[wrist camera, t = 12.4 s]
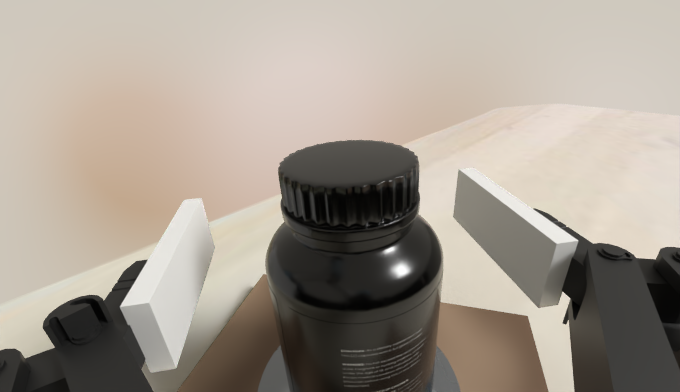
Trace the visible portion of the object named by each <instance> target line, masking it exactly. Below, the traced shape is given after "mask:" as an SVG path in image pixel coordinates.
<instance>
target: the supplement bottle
mask: <svg viewBox="0 0 680 392" xmlns="http://www.w3.org/2000/svg"><path fill="white" fill-rule="evenodd" d="M278 174H279V181H280V188H281V194H282V199H281V210H282V215H283V219H284V221H285V222H284V223H283V224H282V225H281V226H280V227H279V228H278V230H277V231H276V233H275V234H274V236H273V238H272V240H271V242H270V244H269V247H268V250H267V254H266V261H265V266H266V274H267V281H268V286H269V291H270V296H271V301H272V306H273V311H274V316H275V321H276V326H277V331H278V336H279V341H280V346H281V351H282V355H283V360H284V365H285V370H286V375H287V380H288V385H289V390H290V392H432V388H433V379H434V368H435V356H436V345H437V334H438V322H439V311H440V300H441V288H442V277H443V252H442V247H441V244H440V242H439V239H438V237H437V235H436V233H435V232H434V230H433V229H432V227H431V226H430V225H429V224H428V223H427V221H426V220H425V219H423V218H422V217H421V216H420V215H419V214H418V212H419V205H420V195H419V192H418V187H419V162H418V157H417V156H416V155H414V152H412V151H409V149H407V148H404V147H402V146H400V145H395V144H393V143H386V142H382V141H372V140H371V141H370V140H347V141H336V142H329V143H323V144H317V145H314V146H311V147H306V148H304V149H301V150H298V151H296V152H295V153H292V154H290V155H289V156H288V157H286V158H284V161H282V162H281V163H280V167H279V168H278Z"/></svg>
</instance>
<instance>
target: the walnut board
mask: <svg viewBox="0 0 680 392" xmlns="http://www.w3.org/2000/svg"><path fill="white" fill-rule="evenodd" d="M177 392H290V390H289V385H288V380H287V375H286V370H285V365H284V360H283V355H282V351H281V346H280V341H279V336H278V331H277V326H276V321H275V316H274V311H273V306H272V301H271V296H270V291H269V286H268V281H267V275H265V274H263V276H262V277H261V278H260V280H259V281H258V282H257V284H256V285H255V286H254V288H253V289H252V291H251V292H250V293H249V295H248V296H247V297H246V299H245V300H244V301H243V303H242V304H241V305H240V307H239V308H238V309H237V311H236V312H235V314H234V315H233V316H232V318H231V319H230V320H229V322H228V323H227V324H226V326H225V327H224V328H223V330H222V331H221V332H220V334H219V335H218V337H217V338H216V339H215V341H214V342H213V343H212V345H211V346H210V347H209V349H208V350H207V351H206V353H205V354H204V355H203V357H202V358H201V360H200V361H199V362H198V364H197V365H196V366H195V368H194V369H193V370H192V372H191V373H190V374H189V376H188V377H187V378H186V380H185V381H184V382H183V384H182V385H181V387H180V388H179V389H178V391H177ZM432 392H548V389H547V385H546V381H545V378H544V374H543V370H542V367H541V363H540V360H539V356H538V352H537V349H536V345H535V341H534V338H533V334H532V331H531V327H530V323H529V320H528V316H523V315H517V314H511V313H504V312H498V311H492V310H486V309H479V308H473V307H467V306H460V305H454V304H448V303H442V302H440V311H439V322H438V334H437V345H436V356H435V368H434V379H433V388H432Z"/></svg>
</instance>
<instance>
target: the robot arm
mask: <svg viewBox="0 0 680 392" xmlns="http://www.w3.org/2000/svg"><path fill="white" fill-rule="evenodd" d="M453 217H454V218H455V219H456V221H457V222H458V223H459V224H460V225H461V226H462V227H463V228H464V229H465V230H466V231H467V232H468V233H469V234H470V235H471V237H472V238H473V239H474V240H475V241H476V242H477V243H478V244H479V245H480V246H481V247H482V248H483V249H484V250H485V251H486V253H487V254H488V255H489V256H490V257H491V258H492V259H493V260H494V261H495V262H496V263H497V264H498V265H499V266H500V267H501V269H502V270H503V271H504V272H505V273H506V274H507V275H508V276H509V277H510V278H511V279H512V280H513V281H514V282H515V283H516V284H517V286H518V287H519V288H520V289H521V290H522V291H523V292H524V293H525V294H526V295H527V296H528V297H529V298H530V299H531V300H532V302H533V303H534V304H535V305H536V306H537V307H538V308H541V307H547V306H553V305H558V303H559V300H560V297H561V294H562V291H563V292H564V293H565V294H566V295H567V296H568V297H570V298H571V299H570V302H569V305H568V308H567V311H566V314H565V317H564V320H563V324H567V321H568V320H569V327H570V339H571V352H572V364H573V377H574V389H575V392H680V248H676V247H665V248H662V249H660V252H659V254H658V256H657V258H656V260H655V259H640V258H636V257H635V256H634V255H633V254H631V253H630V252H628V251H627V250H625V249H622V248H620V247H618V246H614V245H610V244H603V243H597V244H593V243H591V242H590V241H588V240H587V239H585V238H584V237H582V236H581V235H579V234H578V233H576V232H575V231H573V230H572V229H570V228H569V227H566V225H564V224H563V223H561V222H558V220H557V219H555V218H554V217H552V216H551V215H549V214H548V213H545V212H543V211H540V210H538V209H532V208H531V207H529V206H528V205H526V204H525V203H524V202H522V201H521V200H519V199H518V198H516V197H515V196H514V195H512V194H511V193H509V192H508V191H506V190H505V189H503V188H502V187H501V186H499V185H498V184H496V183H495V182H493V181H492V180H490V179H489V178H488V177H486V176H485V175H483V174H482V173H480V172H479V171H477V170H476V169H475V168H464V169H459V171H458V180H457V188H456V197H455V206H454V215H453ZM214 249H215V246H214V242H213V239H212V235H211V231H210V227H209V224H208V220H207V216H206V213H205V209H204V205H203V201H202V198H197V199H188V200H184V201H183V203H182V204H181V206H180V208H179V209H178V211H177V213H176V214H175V216H174V218H173V219H172V221H171V223H170V224H169V226H168V228H167V229H166V231H165V233H164V234H163V236H162V238H161V239H160V241H159V243H158V244H157V246H156V248H155V249H154V251H153V253H152V254H151V256H150V257H149V259H148V260H142V261H136V262H135V263H133V264H132V265H131V266H130V267H129V268H127V269H126V270H125V271H124V272H123V274H122V275H121V277H120V278H119V280H118V283H116V284H115V286H114V287H113V288H112V292H110V293H109V294H108V296H107V297H106V299H105V300H104V301H103V299H102V298H101V297H99V296H97V295H87V296H81V297H78V298H75V299H73V300H70V301H68V302H66V303H64V304H62V305H61V306H59V307H57V308H56V309H55V310H54V311H52V312H51V313H50V314H49V315H48V316H47V318H46V319H45V320H44V323H43V329H44V331H45V332H46V334H47V335H48V337H49V338H50V340H51V342H52V343H53V345H54V346H55V348H53V349H50V350H47V351H45V352H42V353H39V354H36V355H34V356H31V357H28V358H24V356H23V355H22V353H21V352H20V351H18V350H16V349H4V350H0V392H153V390H152V388H151V386H150V385H149V383H148V381H147V379H146V378H145V376H144V374H143V372H142V370H141V369H142V366H143V364H144V362H146V364H147V366H148V368H149V371H150V373H154V372H160V371H166V370H172V369H176V368H177V365H178V362H179V359H180V356H181V353H182V349H183V346H184V343H185V340H186V337H187V334H188V331H189V328H190V324H191V321H192V318H193V315H194V312H195V309H196V306H197V303H198V299H199V296H200V293H201V290H202V287H203V284H204V281H205V278H206V274H207V271H208V268H209V265H210V262H211V259H212V256H213V253H214Z"/></svg>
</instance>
